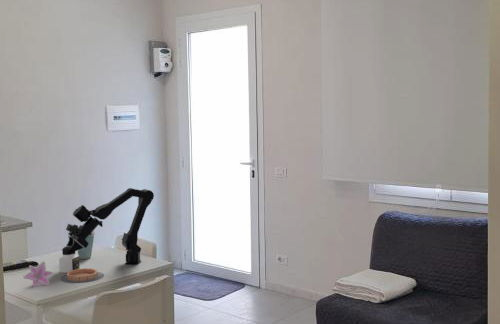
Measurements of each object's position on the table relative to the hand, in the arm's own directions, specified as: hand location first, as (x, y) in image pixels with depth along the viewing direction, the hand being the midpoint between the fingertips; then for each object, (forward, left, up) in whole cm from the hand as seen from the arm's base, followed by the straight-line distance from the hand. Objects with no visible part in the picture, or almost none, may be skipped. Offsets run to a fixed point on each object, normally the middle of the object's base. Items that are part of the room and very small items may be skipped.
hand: (66, 252), depth 290 cm
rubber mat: (-12, +8, -10) cm, 18 cm away
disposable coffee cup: (+4, -29, -10) cm, 31 cm away
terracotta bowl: (-12, +8, -9) cm, 17 cm away
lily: (+2, +22, -10) cm, 25 cm away
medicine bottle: (-1, -1, -10) cm, 10 cm away
